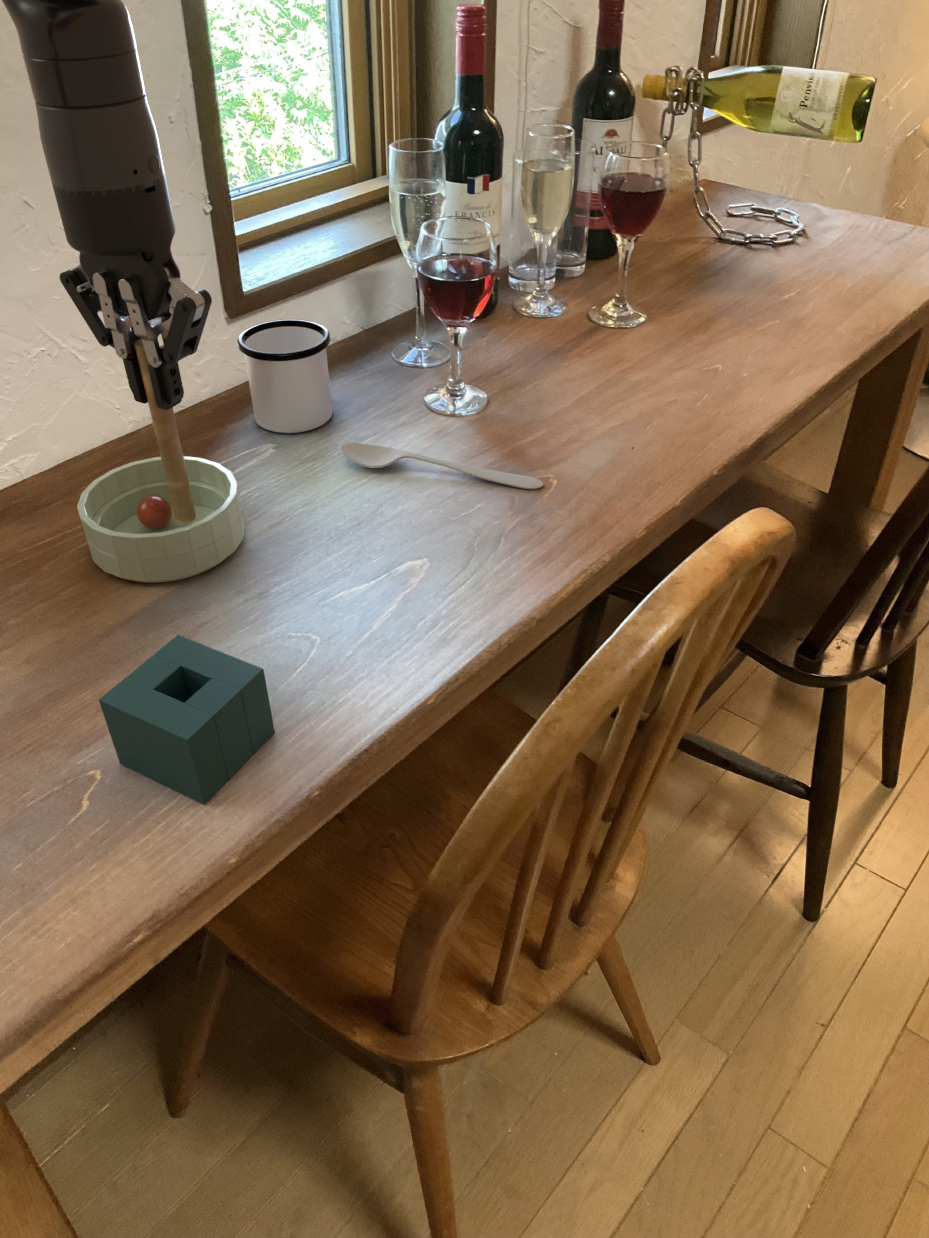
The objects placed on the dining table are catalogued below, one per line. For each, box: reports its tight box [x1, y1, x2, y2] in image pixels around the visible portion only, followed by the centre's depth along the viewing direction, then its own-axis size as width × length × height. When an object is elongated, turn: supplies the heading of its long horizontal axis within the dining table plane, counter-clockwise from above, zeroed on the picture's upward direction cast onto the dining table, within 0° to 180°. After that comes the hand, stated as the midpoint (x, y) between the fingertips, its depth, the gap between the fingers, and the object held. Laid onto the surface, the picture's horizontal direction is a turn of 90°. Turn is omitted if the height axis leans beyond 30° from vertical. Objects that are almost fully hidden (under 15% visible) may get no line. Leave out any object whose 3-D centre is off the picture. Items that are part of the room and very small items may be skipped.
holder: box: [98, 634, 276, 805], centre depth 64 cm, size 7×7×6 cm
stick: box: [134, 339, 196, 523], centre depth 79 cm, size 2×2×16 cm
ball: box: [137, 495, 172, 529], centre depth 85 cm, size 3×3×3 cm
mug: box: [236, 318, 333, 434], centre depth 102 cm, size 12×10×9 cm
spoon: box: [340, 442, 544, 490], centre depth 94 cm, size 4×21×2 cm, turn 75°
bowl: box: [76, 455, 246, 583], centre depth 84 cm, size 13×13×5 cm
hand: (159, 401), depth 77 cm, fingers closed on stick, 2 cm apart
